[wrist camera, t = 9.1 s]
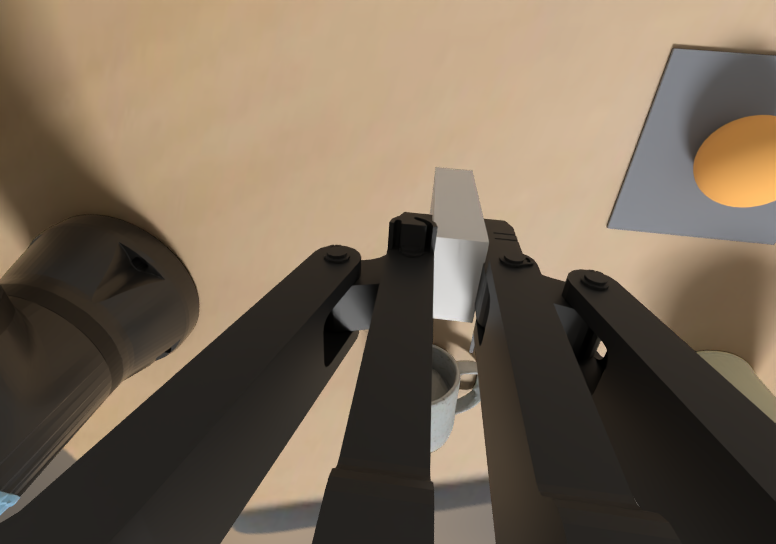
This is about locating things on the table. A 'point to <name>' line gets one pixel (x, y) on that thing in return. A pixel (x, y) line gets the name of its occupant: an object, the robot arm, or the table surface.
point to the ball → (739, 162)
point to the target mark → (695, 148)
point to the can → (742, 379)
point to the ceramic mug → (448, 394)
